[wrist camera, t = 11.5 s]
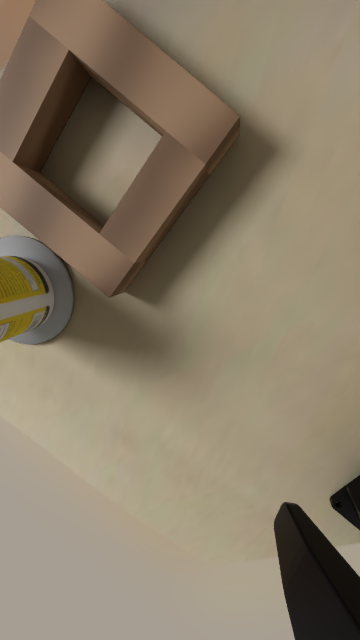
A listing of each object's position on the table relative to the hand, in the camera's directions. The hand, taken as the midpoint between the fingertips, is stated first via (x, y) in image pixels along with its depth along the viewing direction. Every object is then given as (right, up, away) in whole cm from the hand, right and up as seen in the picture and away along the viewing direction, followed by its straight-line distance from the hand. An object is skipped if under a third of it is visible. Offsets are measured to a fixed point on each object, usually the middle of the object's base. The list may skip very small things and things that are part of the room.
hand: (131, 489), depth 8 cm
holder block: (-3, +15, +10) cm, 19 cm away
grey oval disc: (-10, +7, +13) cm, 18 cm away
